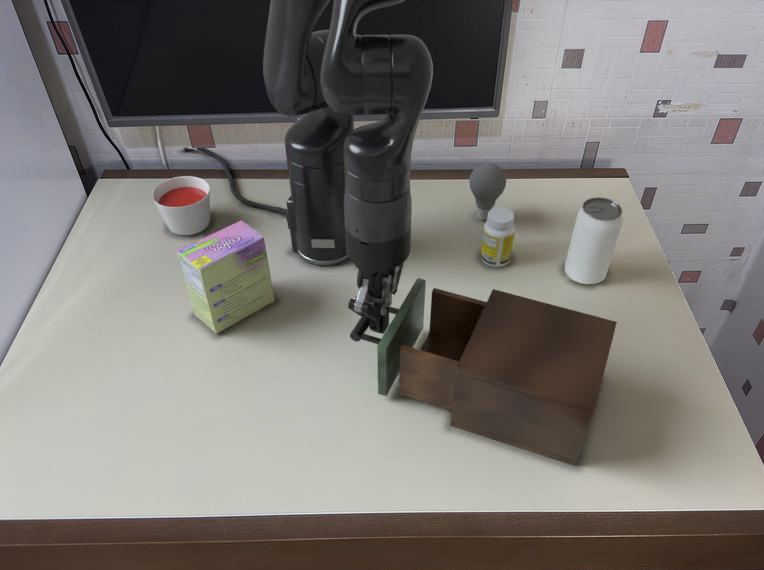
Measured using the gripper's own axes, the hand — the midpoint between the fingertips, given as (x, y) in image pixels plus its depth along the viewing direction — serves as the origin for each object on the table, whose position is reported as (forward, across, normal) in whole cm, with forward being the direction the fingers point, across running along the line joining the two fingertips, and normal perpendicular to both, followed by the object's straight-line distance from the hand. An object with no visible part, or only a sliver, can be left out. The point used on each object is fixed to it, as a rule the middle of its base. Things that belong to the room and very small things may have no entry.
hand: (379, 328), depth 88 cm
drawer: (+5, 0, +7) cm, 9 cm away
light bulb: (+6, -37, +3) cm, 38 cm away
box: (+6, -1, -23) cm, 24 cm away
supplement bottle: (+6, -27, +8) cm, 29 cm away
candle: (+6, -16, -41) cm, 45 cm away
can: (+6, -29, +22) cm, 37 cm away
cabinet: (+6, 0, +21) cm, 21 cm away
